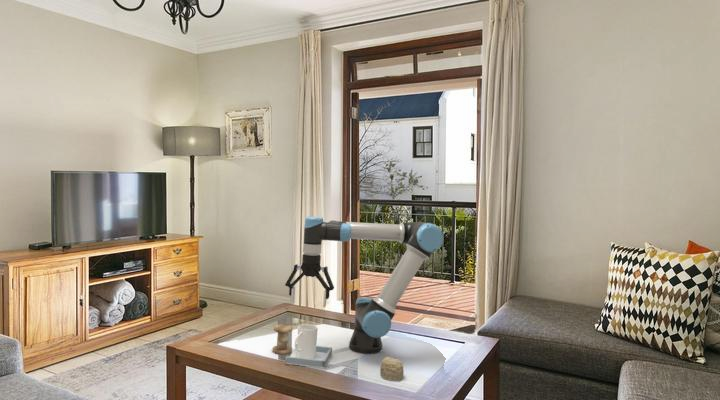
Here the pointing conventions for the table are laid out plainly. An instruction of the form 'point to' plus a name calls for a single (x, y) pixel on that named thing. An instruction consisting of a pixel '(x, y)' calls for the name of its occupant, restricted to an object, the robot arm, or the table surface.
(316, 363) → the blue-grey square tray
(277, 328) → the bobbin
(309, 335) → the mug
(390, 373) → the sponge
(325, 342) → the table surface
